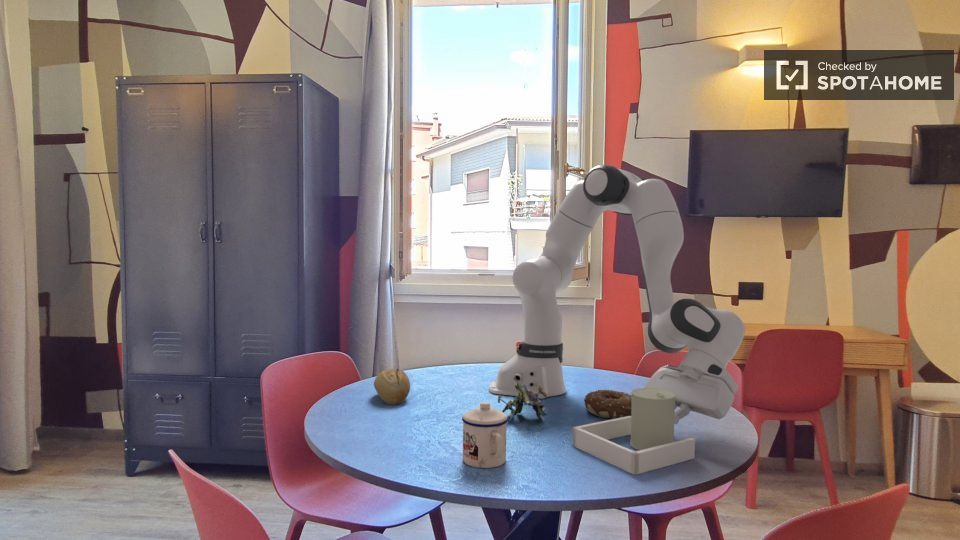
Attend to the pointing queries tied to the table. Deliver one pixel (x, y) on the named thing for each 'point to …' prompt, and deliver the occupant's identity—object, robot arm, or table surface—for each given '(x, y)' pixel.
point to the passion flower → (526, 401)
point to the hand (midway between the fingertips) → (669, 421)
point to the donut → (609, 403)
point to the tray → (598, 445)
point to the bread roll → (392, 386)
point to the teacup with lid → (484, 437)
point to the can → (652, 418)
